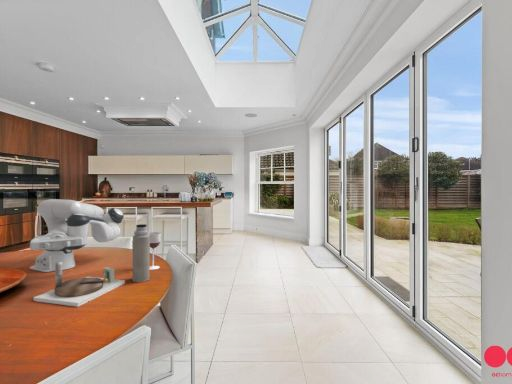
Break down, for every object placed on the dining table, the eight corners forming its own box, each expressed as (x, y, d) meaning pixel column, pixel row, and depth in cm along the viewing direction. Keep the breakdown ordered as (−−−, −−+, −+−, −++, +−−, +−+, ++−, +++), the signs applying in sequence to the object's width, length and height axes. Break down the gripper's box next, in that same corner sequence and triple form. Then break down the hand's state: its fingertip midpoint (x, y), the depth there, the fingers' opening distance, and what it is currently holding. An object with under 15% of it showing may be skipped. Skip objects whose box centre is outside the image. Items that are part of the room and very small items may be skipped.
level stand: (33, 300, 112) (33, 282, 112) (87, 279, 139) (87, 264, 139) (77, 306, 108) (78, 287, 108) (124, 283, 134) (124, 268, 134)
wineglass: (152, 270, 155) (152, 235, 155) (142, 268, 160) (142, 233, 160) (163, 267, 162) (164, 233, 162) (153, 264, 167) (154, 231, 166)
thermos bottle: (140, 276, 145) (140, 223, 145) (152, 278, 143) (153, 224, 142) (128, 281, 138) (129, 225, 137) (141, 283, 135) (142, 226, 135)
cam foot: (111, 279, 134) (111, 255, 134) (103, 293, 117) (103, 265, 116) (63, 283, 128) (63, 257, 127) (46, 298, 110) (47, 268, 110)
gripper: (82, 244, 141) (85, 249, 131) (30, 249, 129) (29, 255, 118) (82, 232, 141) (85, 236, 130) (30, 236, 129) (29, 241, 118)
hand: (58, 245), depth 124 cm, fingers open, 4 cm apart
